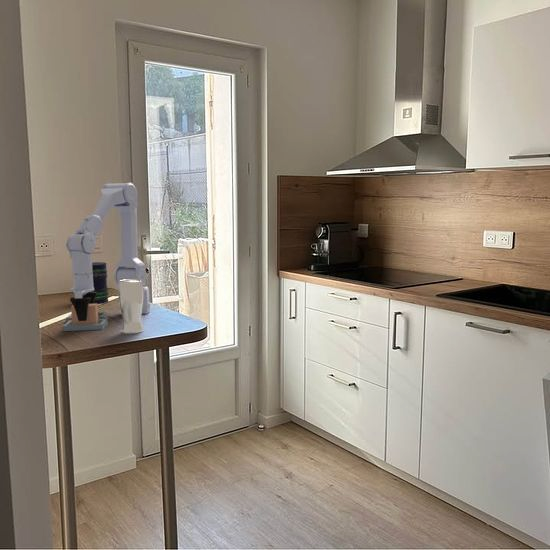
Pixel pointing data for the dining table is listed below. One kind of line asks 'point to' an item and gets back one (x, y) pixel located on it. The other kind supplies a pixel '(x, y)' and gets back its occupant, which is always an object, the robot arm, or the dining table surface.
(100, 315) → the grey rectangular open frame
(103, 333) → the dining table surface
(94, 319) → the terracotta block
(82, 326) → the grey picture frame
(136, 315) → the beer glass
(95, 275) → the storage jar
